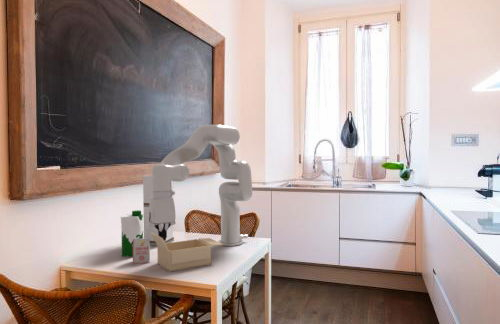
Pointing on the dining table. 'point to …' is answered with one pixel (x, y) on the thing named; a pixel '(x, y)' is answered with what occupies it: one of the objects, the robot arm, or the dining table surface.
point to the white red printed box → (141, 250)
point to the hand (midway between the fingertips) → (162, 240)
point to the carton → (184, 255)
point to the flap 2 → (210, 241)
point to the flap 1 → (159, 241)
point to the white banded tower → (146, 201)
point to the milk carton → (131, 231)
